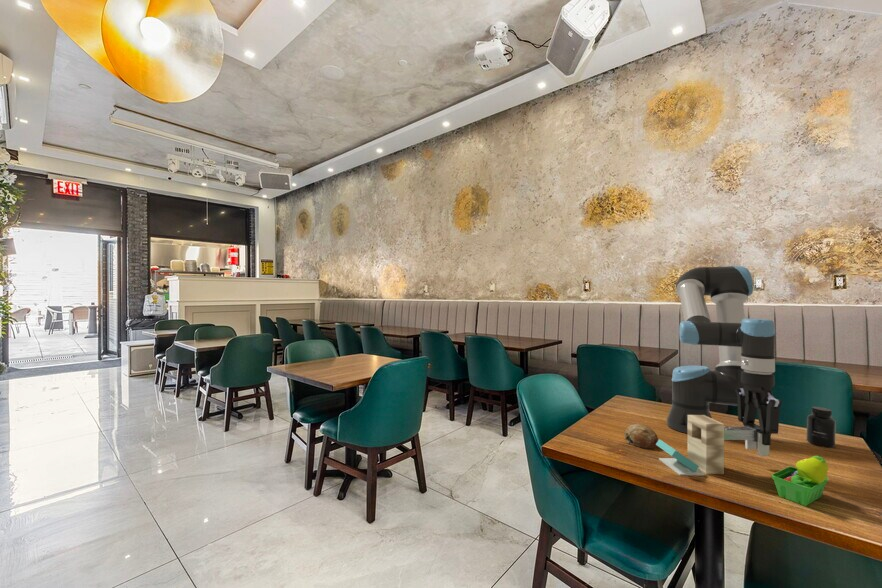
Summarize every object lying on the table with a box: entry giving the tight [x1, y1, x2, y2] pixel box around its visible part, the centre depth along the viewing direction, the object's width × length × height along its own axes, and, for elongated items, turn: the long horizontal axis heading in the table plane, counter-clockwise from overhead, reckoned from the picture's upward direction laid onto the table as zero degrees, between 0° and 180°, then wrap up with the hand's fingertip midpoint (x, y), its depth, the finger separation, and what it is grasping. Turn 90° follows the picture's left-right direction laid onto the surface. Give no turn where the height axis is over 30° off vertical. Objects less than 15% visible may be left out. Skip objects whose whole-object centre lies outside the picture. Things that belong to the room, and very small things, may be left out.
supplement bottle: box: [806, 406, 837, 448], centre depth 126 cm, size 7×7×12 cm
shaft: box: [700, 424, 766, 443], centre depth 108 cm, size 17×4×4 cm, turn 90°
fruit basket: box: [771, 455, 830, 507], centre depth 92 cm, size 11×9×11 cm
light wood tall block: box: [686, 415, 725, 475], centre depth 108 cm, size 5×8×14 cm, turn 0°
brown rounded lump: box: [624, 423, 659, 449], centre depth 126 cm, size 10×10×8 cm
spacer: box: [656, 438, 699, 472], centre depth 108 cm, size 8×2×8 cm
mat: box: [658, 457, 706, 477], centre depth 108 cm, size 10×7×1 cm
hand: (756, 451), depth 108 cm, fingers closed on shaft, 4 cm apart
